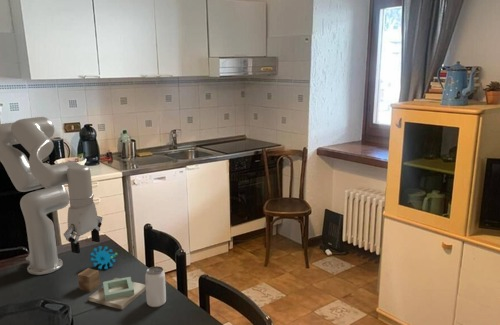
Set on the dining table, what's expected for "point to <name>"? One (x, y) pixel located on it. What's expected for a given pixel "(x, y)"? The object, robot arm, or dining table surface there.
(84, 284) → the block
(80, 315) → the dining table surface
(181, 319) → the dining table surface
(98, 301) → the board
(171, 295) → the dining table surface
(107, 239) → the dining table surface
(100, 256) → the gear
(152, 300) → the can
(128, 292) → the pocket
